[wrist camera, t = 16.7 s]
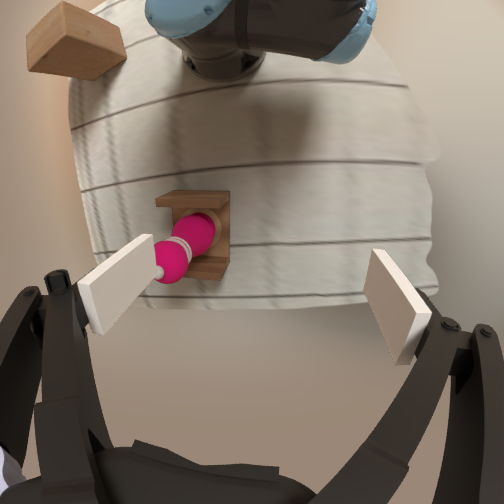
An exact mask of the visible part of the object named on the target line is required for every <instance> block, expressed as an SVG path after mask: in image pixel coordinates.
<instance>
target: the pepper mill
mask: <svg viewBox="0 0 504 504" xmlns="http://www.w3.org/2000/svg"><path fill="white" fill-rule="evenodd" d="M215 232H216V227H215V224H214V221H213V220H212V218H211V217H210V216H208V215H207V214H205V213H201V212H197V213H193V214H191V215H188V216H185V217H183V218H181V219H180V220H179V221H178V222H177V223H176V224H175V226H174V228H173V231H172V235H171V237H169V238H167V239H166V240H165V241H161V242H158V243H156V244H155V245H154V250H155V259H156V267H157V275H156V277H155V278H154V279H155V280H156V281H158V282H160V283H164V284H172V283H175V282H177V281H179V280H180V279H181V278H182V277H183V276H184V275H185V274H186V272H187V269H188V264H189V263H190V261H191V258H192V257H195V256H198V255H201V254H203V253H204V252H206V251H207V250H208V249H209V247H210V246H211V244H212V241H213V237H214V235H215Z"/></svg>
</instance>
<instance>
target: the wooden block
mask: <svg viewBox="0 0 504 504" xmlns="http://www.w3.org/2000/svg"><path fill="white" fill-rule="evenodd" d="M26 48H27V66H28V71H29V72H38V73H46V74H54V75H60V76H67V77H73V78H78V79H84V80H89V81H94V80H95V79H97V78H98V77H99V76H101V75H102V74H104V73H105V72H107V71H108V70H109V69H111V68H112V67H114V66H115V65H117V64H119V63H120V62H122V61H123V60H125V59H126V58H127V55H126V51H125V48H124V44H123V40H122V37H121V33H120V29H119V27H118V26H116V25H114V24H112V23H110V22H108V21H106V20H104V19H102V18H100V17H98V16H96V15H94V14H92V13H90V12H88V11H85V10H83V9H81V8H79V7H76V6H74V5H72V4H70V3H67V2H64V1H61V2H60V3H59V4H58V5H56V7H54V8H53V9H52V10H51V11H50V12H49V13H48V14H47V15H46V16H45V17H44V18H43V19H41V21H40V22H38V23H37V25H35V27H34V28H33V29H32V30H31V31H30V32H29V33H28V34H27V36H26Z"/></svg>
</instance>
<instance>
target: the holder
mask: <svg viewBox="0 0 504 504" xmlns="http://www.w3.org/2000/svg"><path fill="white" fill-rule="evenodd" d="M156 207H172V211H173V228H174V226H175V224H176V223H177V222H178V221H179V220H180V219H181V218H183V217H185V216H188V215H191V214H193V213H197V212H201V213H205V214H207V215H208V216H210V217H211V218H212V220H213V221H214V224H215V227H216V232H215V235H214V237H213V241H212V244H211V246H210V247H209V249H208V250H207V251H206V252H204V253H203V254H201V255H198V256H195V257H192V258H191V261H190V263H189V264H188V269H187V272H186V274H185V275H184V276H183V277H186V278H197V279H207V280H218V281H221V279H222V277H223V275H224V273H225V271H226V268H227V266H228V264H229V262H230V191H204V190H173V191H171V192H169V193H167V194H165V195H163V196H160V197H158V198H156Z"/></svg>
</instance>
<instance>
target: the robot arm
mask: <svg viewBox="0 0 504 504" xmlns="http://www.w3.org/2000/svg"><path fill="white" fill-rule="evenodd" d="M376 10H377V5H376V1H375V0H146V3H145V16H146V19H147V21H148V22H149V24H150V25H151V26H152V27H153V28H154V29H155V30H156V31H157V33H158V34H159V35H160V36H162V37H165V38H166V39H168V40H169V41H170V42H172V43H173V44H174V45H176V46H177V47H178V48H180V49H181V50H182V54H183V58H184V61H185V63H186V64H187V66H188V67H189V68H190V69H191V70H192V71H193V72H194V73H195V74H197V75H198V76H200V77H201V78H203V79H206V80H208V81H212V82H231V81H235V80H238V79H241V78H243V77H245V76H247V75H249V74H250V73H252V72H253V71H254V70H255V69H256V68H257V67H258V66H259V65H260V64H261V62H262V61H263V59H264V57H265V54H266V52H272V53H280V54H286V55H292V56H298V57H303V58H308V59H311V60H313V61H316V62H317V61H319V62H320V61H324V62H330V63H334V64H345V63H349V62H351V61H352V60H353V59H355V58H356V57H357V56H358V54H359V53H360V52H361V50H362V49H363V47H364V46H365V44H366V42H367V40H368V38H369V36H370V33H371V30H372V23H373V22H374V20H375V17H376ZM156 275H157V267H156V259H155V250H154V240H153V234H141V235H140V236H138V237H137V238H136V239H134V240H133V241H131V242H130V243H129V244H127V245H126V246H124V247H123V248H122V249H120V250H119V251H118V252H116V253H115V254H113V255H112V256H111V257H109V258H108V259H107V260H105V261H104V262H103V263H101V264H100V265H99V266H98V267H96V268H94V269H92V270H91V271H90V272H89V273H88V274H86V275H85V276H84V277H82V278H81V279H80V280H78V281H77V282H76V283H75V284H73V285H71V281H70V278H69V274H68V271H67V270H64V269H63V270H62V269H60V270H55V271H52V272H50V273H48V274H47V275H46V276H45V278H44V280H45V284H46V287H47V290H48V293H49V295H41V293H40V290H39V288H38V287H37V286H31V287H30V286H29V287H26V288H24V290H22V291H21V292H20V293H19V294H18V296H17V297H16V299H15V300H14V302H13V303H12V305H11V306H10V308H9V309H8V311H7V313H6V314H5V316H4V317H3V319H2V321H1V323H0V504H387V503H388V502H389V500H390V499H391V497H392V496H393V494H394V493H395V492H396V490H397V489H398V487H399V486H400V484H401V482H402V481H403V479H404V478H405V476H406V474H407V472H408V470H409V466H407V465H408V462H409V461H410V459H411V457H412V455H413V454H414V452H415V450H416V448H417V446H418V444H419V442H420V441H421V439H422V437H423V434H424V433H425V431H426V428H427V426H428V424H429V422H430V420H431V417H432V416H433V413H434V411H435V409H436V406H437V403H438V401H439V399H440V396H441V394H442V391H443V389H444V386H445V383H446V380H447V378H448V375H451V392H450V409H449V419H448V429H447V436H446V443H445V450H444V456H443V461H442V466H441V471H440V476H439V479H438V484H437V487H436V491H435V495H434V499H433V502H432V504H504V360H503V355H502V351H501V347H500V343H499V339H498V336H497V334H496V332H495V331H494V330H493V328H492V327H490V326H489V325H485V324H477V325H476V326H475V328H474V330H473V332H472V333H470V332H465V331H461V327H460V325H459V324H458V323H457V322H456V321H454V320H453V319H451V318H447V317H442V316H441V314H440V313H439V312H438V310H437V309H436V308H435V306H434V305H433V304H432V302H431V301H430V300H429V298H428V297H427V296H426V294H425V293H424V292H422V291H421V290H419V289H418V288H414V287H413V286H412V285H411V283H410V282H409V281H408V279H407V278H406V277H405V275H404V274H403V273H402V272H401V270H400V269H399V268H398V267H397V265H396V264H395V263H394V262H393V260H392V259H391V258H390V257H389V255H388V254H387V253H386V252H385V251H384V250H382V249H372V252H371V257H370V262H369V267H368V272H367V276H366V281H365V285H364V290H363V291H364V293H365V295H366V297H367V299H368V302H369V304H370V306H371V308H372V310H373V313H374V315H375V317H376V320H377V322H378V324H379V327H380V329H381V332H382V334H383V336H384V339H385V341H386V344H387V346H388V349H389V351H390V354H391V356H392V359H393V362H394V364H395V365H409V364H410V363H411V361H412V358H413V356H414V354H415V356H416V358H417V361H416V363H415V364H414V366H413V368H412V370H411V372H410V374H409V375H408V377H407V379H406V381H405V382H404V384H403V386H402V388H401V389H400V391H399V393H398V394H397V396H396V398H395V399H394V401H393V402H392V404H391V405H390V407H389V408H388V410H387V411H386V413H385V414H384V416H383V417H382V419H381V420H380V422H379V423H378V424H377V426H376V427H375V428H374V430H373V431H372V433H371V434H370V435H369V437H368V438H367V439H366V441H365V442H364V443H363V444H362V445H361V446H360V447H359V449H358V450H357V451H356V452H355V454H354V455H353V456H352V457H351V459H350V460H349V461H348V462H347V463H346V464H345V466H344V467H343V468H342V469H341V470H340V471H339V472H338V474H337V475H336V476H335V477H334V478H333V479H332V480H331V481H330V482H329V483H328V484H327V485H326V486H325V487H324V488H323V489H322V490H321V491H320V492H319V493H318V494H315V493H314V492H313V491H312V490H310V489H309V488H308V487H306V486H305V485H303V484H301V483H299V482H297V481H296V480H293V479H290V478H288V477H285V476H281V475H279V467H274V466H260V465H250V464H231V465H205V466H204V465H199V464H196V463H194V462H192V461H190V460H188V459H186V458H183V457H181V456H179V455H178V454H175V453H174V452H171V451H170V450H168V449H165V448H161V447H158V446H154V445H151V444H148V443H144V442H141V441H139V440H135V441H134V443H133V445H132V447H115V448H114V447H113V445H112V442H111V440H110V437H109V434H108V430H107V427H106V424H105V420H104V417H103V414H102V409H101V405H100V402H99V398H98V393H97V389H96V384H95V379H94V374H93V369H92V365H91V358H90V353H89V346H88V338H87V332H86V329H85V326H86V325H87V324H88V323H89V325H90V327H91V330H92V332H93V333H95V334H99V335H103V336H104V335H105V334H106V333H107V332H108V331H109V329H110V328H111V327H112V326H113V325H114V323H115V322H116V321H117V320H118V319H119V318H120V316H121V315H122V314H123V313H124V312H125V311H126V309H127V308H128V307H129V306H130V305H131V304H132V302H133V301H134V300H135V299H136V298H137V297H138V296H139V294H140V293H141V292H142V291H143V290H144V289H145V288H146V287H147V285H148V284H149V283H150V282H151V281H152V280H153V279H154V278H155V277H156ZM41 376H42V402H40V403H36V404H35V400H36V396H37V391H38V387H39V383H40V380H41ZM34 404H35V405H34ZM33 409H34V424H35V436H36V445H37V453H38V460H39V467H40V472H41V476H39V477H36V478H33V479H30V480H27V479H26V478H25V476H23V475H22V471H21V469H22V467H23V463H24V459H25V456H26V450H27V444H28V437H29V430H30V424H31V419H32V414H33Z"/></svg>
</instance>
